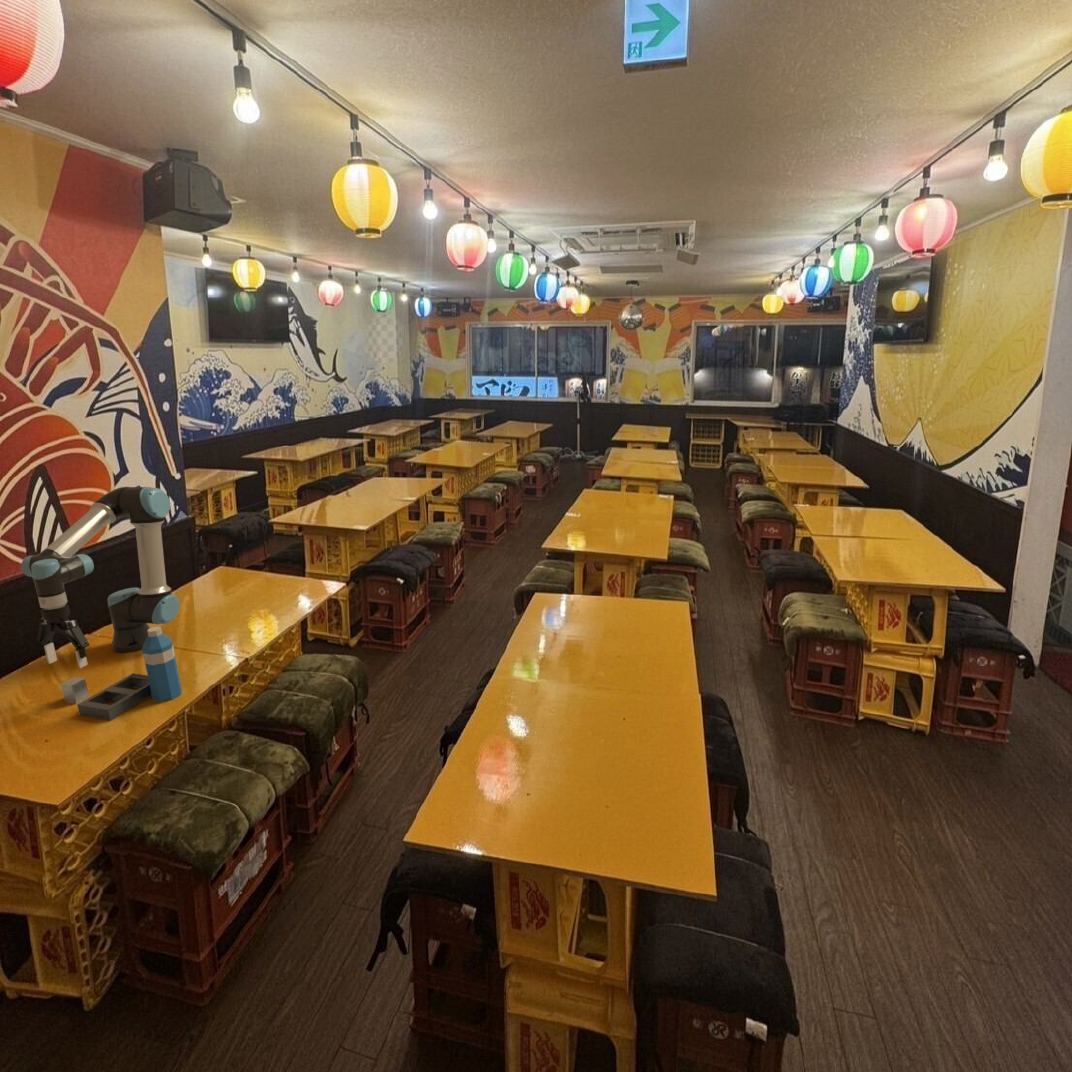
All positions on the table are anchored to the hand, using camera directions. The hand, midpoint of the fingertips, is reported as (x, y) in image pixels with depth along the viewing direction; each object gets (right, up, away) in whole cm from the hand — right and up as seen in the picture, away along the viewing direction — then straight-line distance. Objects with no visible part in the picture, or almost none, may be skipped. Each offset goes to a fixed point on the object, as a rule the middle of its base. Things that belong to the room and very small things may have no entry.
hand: (67, 664), depth 230 cm
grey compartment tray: (+18, -13, +2) cm, 22 cm away
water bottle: (+31, -12, +5) cm, 34 cm away
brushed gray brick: (0, -13, +4) cm, 14 cm away
